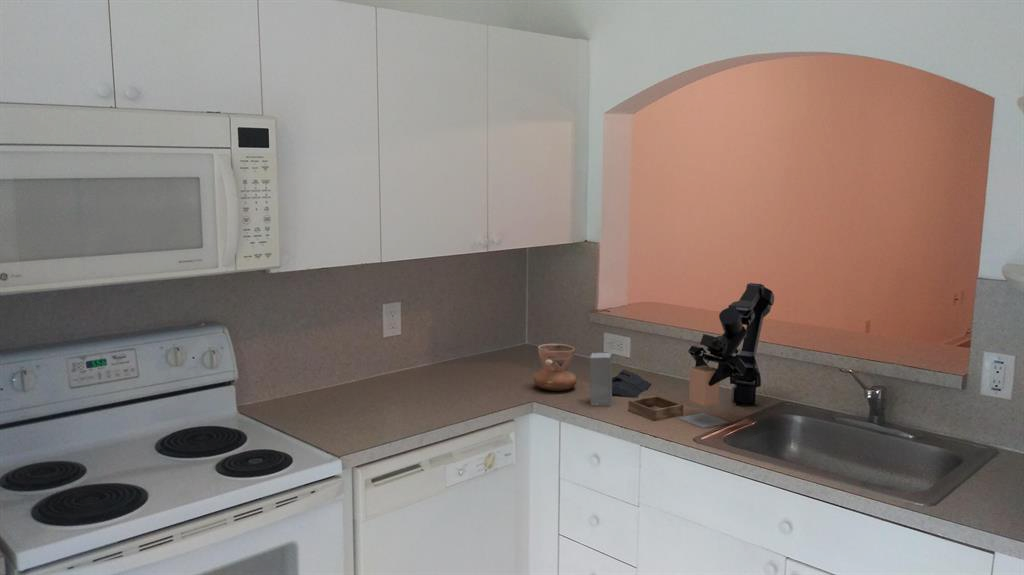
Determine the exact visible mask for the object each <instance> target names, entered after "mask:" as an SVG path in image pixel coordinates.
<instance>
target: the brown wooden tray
mask: <svg viewBox="0 0 1024 575" xmlns="http://www.w3.org/2000/svg"><path fill="white" fill-rule="evenodd" d="M627 404H628V407H627V409H628V411H629V412H630V413H633V414H636V415H638V416H641V417H643V418H646V419H648V420H651V421H653V422H654V421H661V420H666V419H670V418H674V417H678V416H683V415H684V404H682V403H679V402H677V401H674V400H671V399H669V398H665V397H662V396H660V395H652V396H648V397H642V398H641V397H640V398H635V399H632V400H628V402H627Z"/></svg>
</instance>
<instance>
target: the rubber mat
mask: <svg viewBox="0 0 1024 575" xmlns="http://www.w3.org/2000/svg"><path fill="white" fill-rule="evenodd" d="M678 420H680V421H683V422H685V423H688V424H691V425H693V426H696V427H699V428H701V429H706V428H707V429H708V428H711V427H716V426H721V425H725V424H728V423H729V422H728V421H727V420H724V419H721V418H718V417H715V416H713V415H711V414H707V413H705V412H700V413H695V414H690V415H686V416H681V417H678Z"/></svg>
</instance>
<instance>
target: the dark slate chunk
mask: <svg viewBox="0 0 1024 575" xmlns="http://www.w3.org/2000/svg"><path fill="white" fill-rule="evenodd" d="M651 385H652V383H651V382H649V381H648V380H645V379H643V378H642V377H641V376H640V375H639V374H637V373H634V372H631V371H629V370H627V369H622V370H621V371H620V372H619V373H618V374H616V376H612V396H615V395H616V397H617V396H618V397H621V398H622V397H623V398H633V399H634V398H635V399H639V397H640V395H641V394H642V393H644V392H647V391H648V390H649V389H650V388H651V387H652V386H651ZM650 386H651V387H650ZM649 387H650V388H649ZM648 388H649V389H648Z"/></svg>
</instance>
